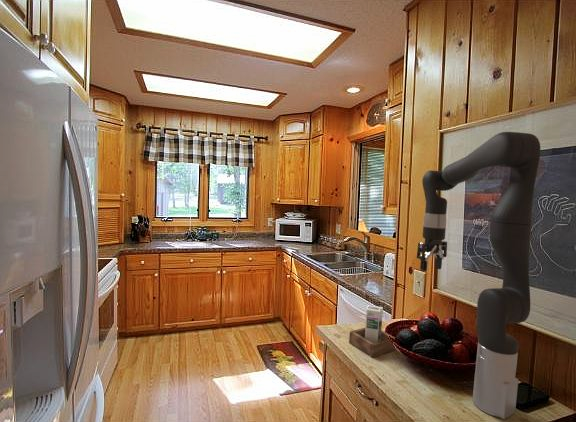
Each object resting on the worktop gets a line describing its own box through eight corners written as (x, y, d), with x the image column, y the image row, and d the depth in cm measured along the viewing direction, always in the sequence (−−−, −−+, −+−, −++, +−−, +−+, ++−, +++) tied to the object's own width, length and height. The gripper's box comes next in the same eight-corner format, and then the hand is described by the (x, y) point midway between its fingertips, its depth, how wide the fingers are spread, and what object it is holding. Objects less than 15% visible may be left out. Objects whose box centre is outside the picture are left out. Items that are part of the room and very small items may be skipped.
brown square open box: (395, 350, 120) (396, 338, 120) (372, 357, 114) (373, 345, 114) (371, 336, 130) (372, 325, 130) (349, 343, 124) (349, 331, 124)
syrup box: (363, 347, 120) (366, 309, 119) (365, 340, 126) (367, 304, 125) (379, 350, 118) (382, 311, 117) (380, 343, 124) (383, 306, 123)
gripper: (431, 227, 112) (427, 274, 113) (455, 226, 120) (451, 270, 121) (413, 225, 119) (409, 269, 120) (437, 224, 126) (433, 265, 127)
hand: (430, 269), depth 120 cm, fingers open, 8 cm apart
